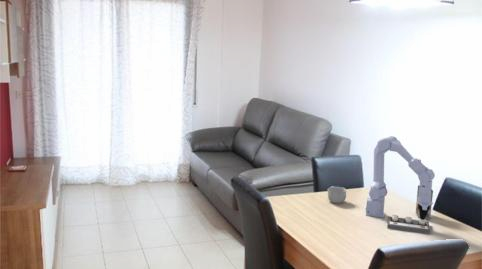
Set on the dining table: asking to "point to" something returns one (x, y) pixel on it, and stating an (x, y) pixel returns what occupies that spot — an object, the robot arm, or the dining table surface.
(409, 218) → the middle button
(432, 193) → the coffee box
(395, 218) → the left button
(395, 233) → the dining table surface
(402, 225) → the button board
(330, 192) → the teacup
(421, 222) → the right button
